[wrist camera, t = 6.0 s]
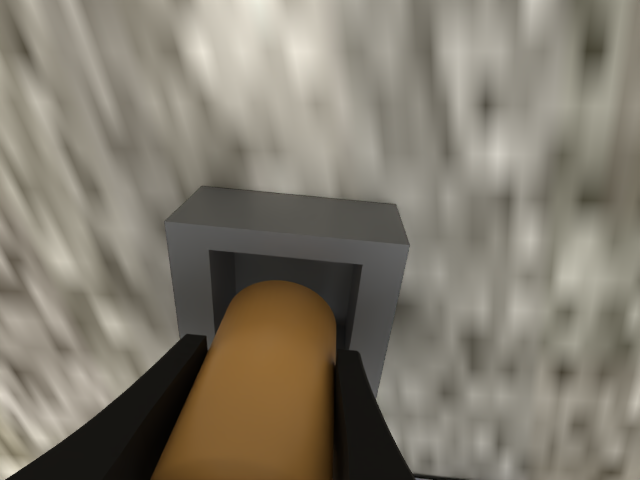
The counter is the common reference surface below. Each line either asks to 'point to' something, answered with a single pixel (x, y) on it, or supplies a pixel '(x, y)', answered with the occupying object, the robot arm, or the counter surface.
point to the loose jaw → (261, 393)
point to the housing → (290, 260)
